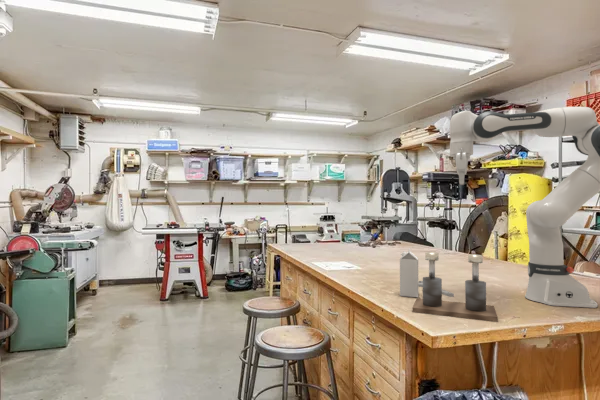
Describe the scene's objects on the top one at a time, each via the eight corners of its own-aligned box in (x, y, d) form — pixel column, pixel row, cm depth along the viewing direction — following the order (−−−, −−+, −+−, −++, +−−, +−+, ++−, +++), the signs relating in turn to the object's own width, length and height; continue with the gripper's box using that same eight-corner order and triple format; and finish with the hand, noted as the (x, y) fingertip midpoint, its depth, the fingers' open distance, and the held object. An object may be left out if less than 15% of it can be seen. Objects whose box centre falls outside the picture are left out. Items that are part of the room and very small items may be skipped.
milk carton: (418, 293, 150) (418, 248, 151) (418, 297, 144) (418, 250, 144) (400, 292, 153) (400, 247, 153) (399, 296, 146) (399, 249, 146)
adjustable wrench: (455, 297, 146) (455, 293, 146) (441, 298, 145) (440, 294, 145) (424, 284, 170) (424, 280, 170) (411, 284, 169) (411, 280, 169)
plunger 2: (482, 280, 124) (482, 254, 124) (483, 282, 120) (482, 256, 120) (468, 279, 126) (468, 254, 126) (468, 281, 122) (468, 255, 122)
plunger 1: (438, 276, 130) (438, 252, 130) (438, 279, 126) (438, 254, 126) (426, 275, 132) (425, 252, 132) (425, 278, 128) (424, 253, 128)
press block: (493, 310, 127) (493, 279, 127) (497, 321, 114) (497, 287, 114) (416, 302, 138) (416, 273, 138) (412, 311, 125) (412, 280, 125)
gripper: (470, 146, 138) (470, 182, 138) (469, 153, 157) (469, 185, 157) (452, 147, 141) (452, 183, 141) (453, 154, 160) (454, 185, 159)
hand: (461, 184), depth 149 cm, fingers open, 8 cm apart
